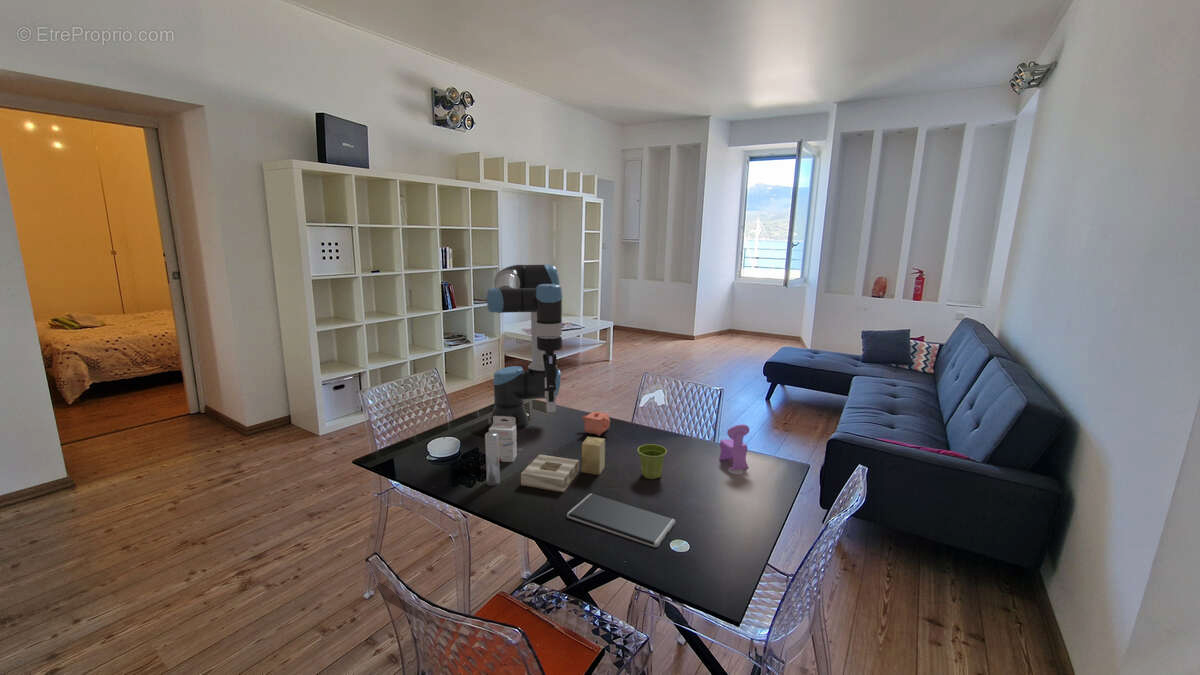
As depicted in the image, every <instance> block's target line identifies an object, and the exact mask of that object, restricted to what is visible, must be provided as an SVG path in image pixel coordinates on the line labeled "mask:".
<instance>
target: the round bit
mask: <svg viewBox="0 0 1200 675" xmlns="http://www.w3.org/2000/svg"><path fill="white" fill-rule="evenodd" d="M484 443H485V466H486V467H485V468H486V469H485V470H486V472H485V473H486V484H487V486H497V485H499V484H500V483H501V476H500V475H501V474H500V472H501V471H500V461H499V436H498V432H494V431H492V432H489V431H488V432H485V434H484Z"/></svg>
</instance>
